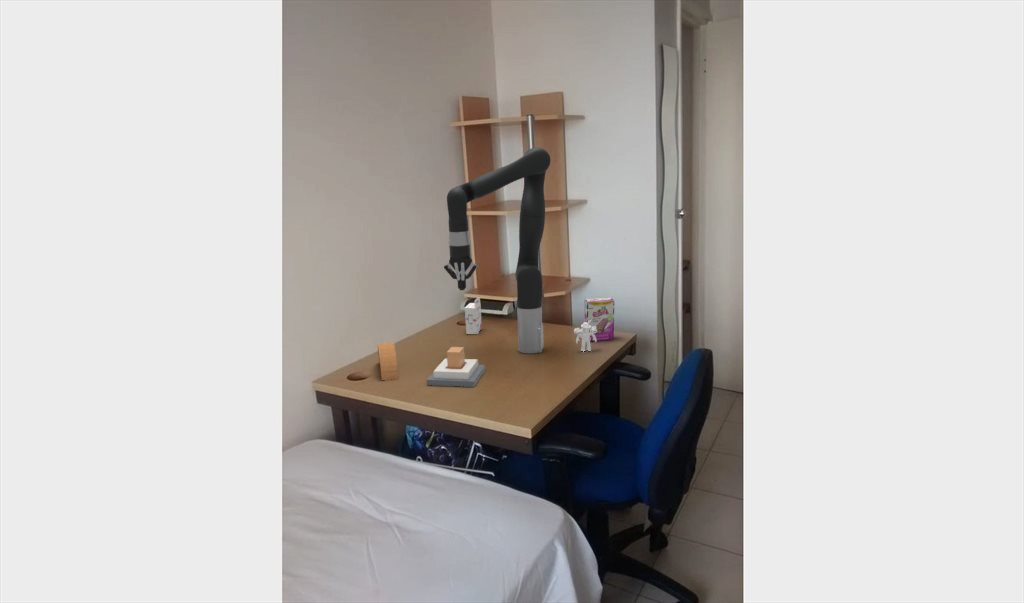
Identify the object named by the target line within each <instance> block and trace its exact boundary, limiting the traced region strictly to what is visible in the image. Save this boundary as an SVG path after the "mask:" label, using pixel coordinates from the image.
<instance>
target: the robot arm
mask: <svg viewBox="0 0 1024 603" xmlns="http://www.w3.org/2000/svg"><path fill="white" fill-rule="evenodd" d="M551 160H552V159H551V156H550V154H549V152H548V151H547V150H545V149H544V148H541V147H532V148H530V149H528V150H526V152H525V153H524V155H522V156H521V157H520V158H518V159H516V160H515V161H513V162H511V163H509V164H507V165H503V166H502V167H499V168H497V169H493V170H490V171H487V172H486V173H484V174H482V175H480V176H477V177H475V178H474V179H472V180H470V181H469V182H465V183H462V184H460V185H456V186H455V187H452V188H451V189H450V190H449V191H448V193H447V195H446V206H447V213H448V244H449V245H448V248H449V260H448V263H447V264H445V265H444V266H443V268H444V270H445V271H446V272H447V274H448V275H449V276H450V277H451V279H453V280H456V281H457V288H458V289H459V291H465V289H466V288H467V280H468V279H470V278H471V277H472V276H473V274H474V273H475V272H476V270H477V268H478V267H479V265H478V263H477V264H475V263H474V262H473V260H472V257H471V256H472V255H471V240H470V238H471V237H470V232H469V220H468V215H467V214H468V206H467V203H470V202H472V201H474V200H477V199H481V198H484V197H485V196H487V195H490V194H492V193H494V192H496V191H498V190H500V189H502V188H505V187H506V186H508V185H510V184H512V183H513V182H514V183H515V182H517V181H519V180H522V179H523V191H522V196H521V202H520V211H519V224H518V228H519V229H518V242H519V246H518V247H519V250H518V251H519V252H518V258H517V265H516V268H515V279H516V288H517V289H516V290H517V291H516V292H517V297H516V298H517V299H516V310H517V312H516V314H517V342H518V343H517V346H518V352H520V353H523V354H537V353H539V354H540V353H542V352H543V350H544V324H543V319H542V318H543V313H542V312H543V310H542V309H543V308H542V304H543V303H542V301H543V277H542V273H541V270H540V269H539V268H540V267H539V266H540V265H539V251H540V245H541V242H542V239H543V235H544V231H545V223H546V222H545V220H546V200H545V188H544V186H545V179H546V173H547V171H548V169H549V167H550V166H551ZM469 267H470V270H469V271H468V269H469ZM467 272H468V273H467Z"/></svg>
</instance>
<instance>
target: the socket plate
mask: <svg viewBox="0 0 1024 603" xmlns="http://www.w3.org/2000/svg"><path fill="white" fill-rule="evenodd" d="M485 372H486V365H485V364H479V359H475V358H473V359H471V358H470V359H469V358H465V366H464V367H463V368H462V369H448V364H447V357H446V358H444V359H443V360H442V362H440V364H438V365H437V367H435V369H434V370H433V372H432V373H431V374H430V376H428V378H426V386H430V385H432V386H434V387H454V386H461V387H460V388H475V386H476V385H477V383H478V382H479V381H480V379H481V378H480V377H482V376H483V375H484V373H485ZM482 374H483V375H482ZM463 386H464V387H463Z"/></svg>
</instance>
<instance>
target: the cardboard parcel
mask: <svg viewBox="0 0 1024 603" xmlns="http://www.w3.org/2000/svg"><path fill="white" fill-rule="evenodd" d="M446 359H447V364H448V369H462V368H463V367H464V366H465V359H466V357H465V347H464V346H463V347H462V346H451V347H450V348H449V349H448V350H447V351H446Z"/></svg>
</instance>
